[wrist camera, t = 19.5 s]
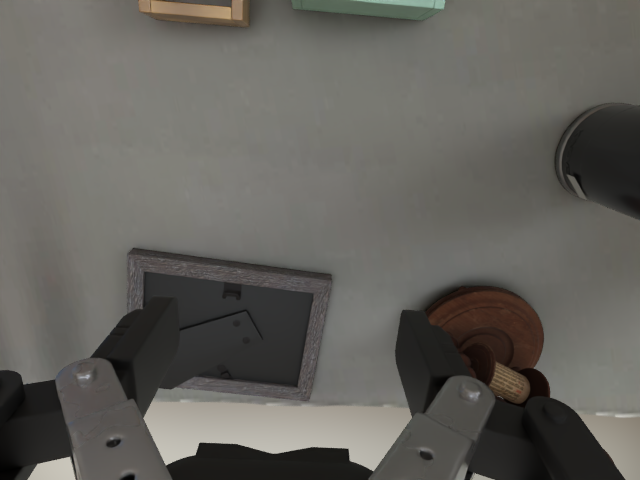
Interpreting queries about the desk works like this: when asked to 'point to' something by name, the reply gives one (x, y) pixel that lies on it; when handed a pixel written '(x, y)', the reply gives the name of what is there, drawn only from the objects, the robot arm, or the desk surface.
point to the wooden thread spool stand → (495, 340)
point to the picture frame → (236, 322)
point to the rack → (198, 12)
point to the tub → (375, 7)
